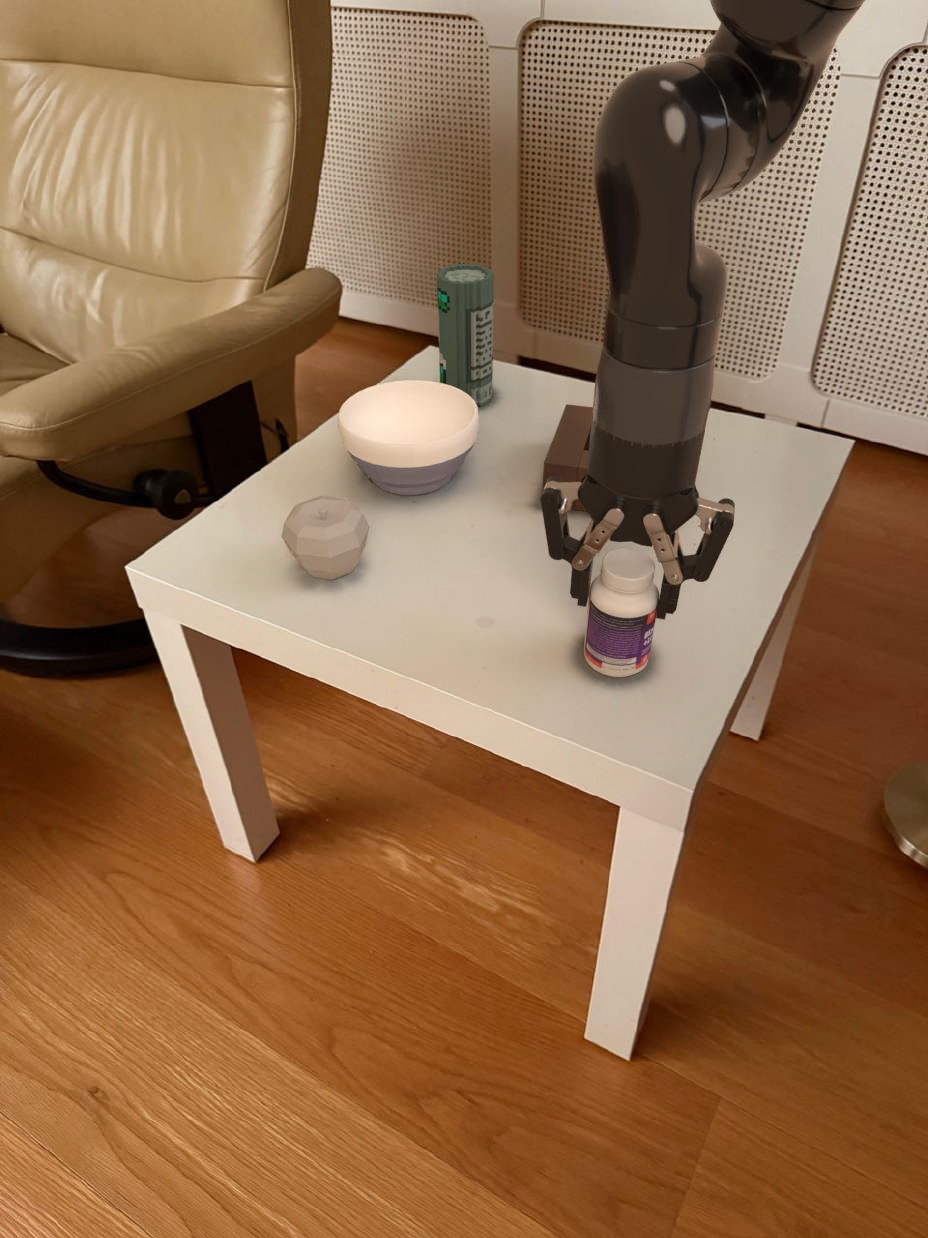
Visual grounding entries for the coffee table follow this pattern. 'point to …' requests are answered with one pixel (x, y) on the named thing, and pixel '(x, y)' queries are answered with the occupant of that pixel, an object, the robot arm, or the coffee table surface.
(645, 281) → the robot arm
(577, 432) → the socket pad
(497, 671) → the coffee table surface
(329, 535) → the apple
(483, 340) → the can
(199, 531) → the coffee table surface
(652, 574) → the pill bottle
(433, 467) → the bowl
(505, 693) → the coffee table surface
